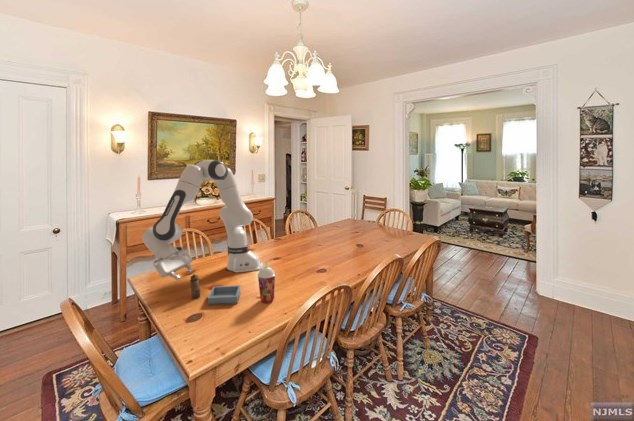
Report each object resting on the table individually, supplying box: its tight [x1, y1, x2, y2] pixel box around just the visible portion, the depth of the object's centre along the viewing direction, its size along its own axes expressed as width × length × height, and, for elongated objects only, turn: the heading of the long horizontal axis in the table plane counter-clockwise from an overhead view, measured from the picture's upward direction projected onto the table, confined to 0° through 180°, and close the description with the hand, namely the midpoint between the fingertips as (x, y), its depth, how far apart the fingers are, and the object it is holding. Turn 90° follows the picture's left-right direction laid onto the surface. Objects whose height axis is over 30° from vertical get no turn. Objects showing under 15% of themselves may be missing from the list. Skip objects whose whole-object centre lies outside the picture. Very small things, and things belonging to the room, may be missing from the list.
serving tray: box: [207, 285, 242, 306], centre depth 156 cm, size 14×13×4 cm
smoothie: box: [257, 261, 276, 304], centre depth 152 cm, size 8×8×20 cm
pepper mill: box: [189, 274, 201, 300], centre depth 157 cm, size 4×4×12 cm
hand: (185, 275), depth 157 cm, fingers open, 8 cm apart
